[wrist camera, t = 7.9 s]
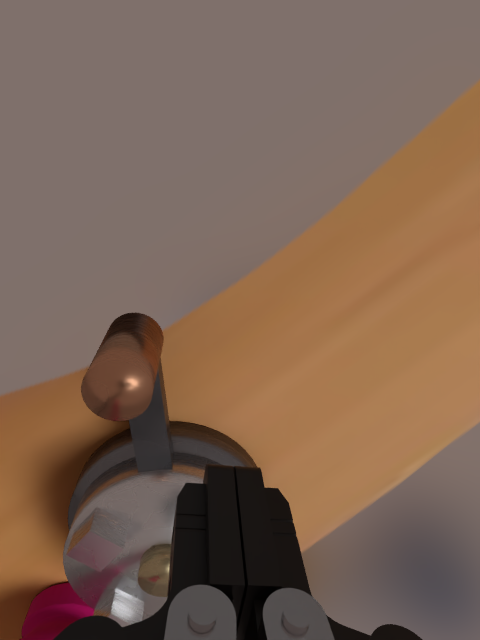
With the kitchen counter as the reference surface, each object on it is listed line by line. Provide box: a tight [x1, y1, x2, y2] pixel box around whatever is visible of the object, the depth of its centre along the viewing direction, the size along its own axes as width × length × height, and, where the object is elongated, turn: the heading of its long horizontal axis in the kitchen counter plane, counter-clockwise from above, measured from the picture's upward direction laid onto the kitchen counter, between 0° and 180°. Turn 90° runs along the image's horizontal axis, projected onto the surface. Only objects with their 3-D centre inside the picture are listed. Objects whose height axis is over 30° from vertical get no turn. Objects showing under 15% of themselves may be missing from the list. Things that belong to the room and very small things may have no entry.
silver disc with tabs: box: [68, 422, 257, 531], centre depth 28 cm, size 12×12×2 cm
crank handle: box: [63, 313, 221, 627], centre depth 22 cm, size 20×11×6 cm, turn 3°
